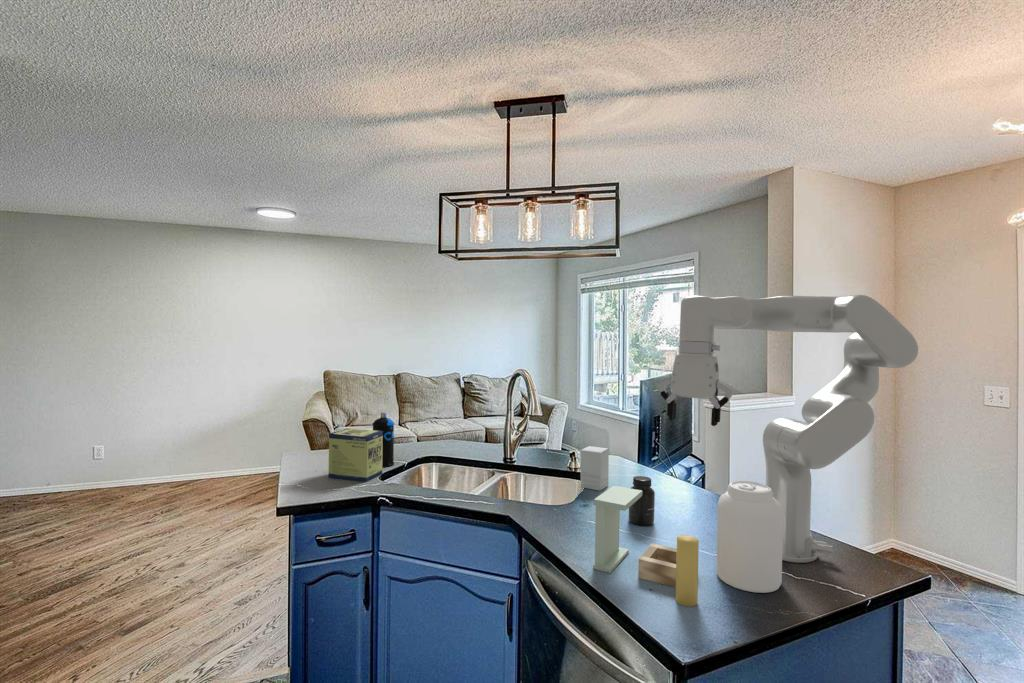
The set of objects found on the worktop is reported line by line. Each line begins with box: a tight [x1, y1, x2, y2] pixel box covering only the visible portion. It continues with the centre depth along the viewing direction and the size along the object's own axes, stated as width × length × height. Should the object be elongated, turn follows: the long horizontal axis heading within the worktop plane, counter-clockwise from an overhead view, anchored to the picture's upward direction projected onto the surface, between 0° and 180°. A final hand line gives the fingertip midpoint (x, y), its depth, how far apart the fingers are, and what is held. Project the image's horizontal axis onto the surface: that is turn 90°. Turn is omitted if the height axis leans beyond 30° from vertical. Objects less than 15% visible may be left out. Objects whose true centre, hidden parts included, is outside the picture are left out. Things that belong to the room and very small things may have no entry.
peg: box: [675, 534, 700, 607], centre depth 100 cm, size 4×4×12 cm
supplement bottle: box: [628, 475, 656, 527], centre depth 141 cm, size 7×7×12 cm
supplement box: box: [580, 445, 610, 492], centre depth 172 cm, size 7×7×13 cm
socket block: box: [637, 542, 677, 589], centre depth 110 cm, size 10×10×4 cm
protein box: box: [328, 428, 383, 483], centre depth 181 cm, size 10×16×16 cm
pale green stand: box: [592, 485, 642, 574], centre depth 116 cm, size 7×12×15 cm, turn 149°
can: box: [716, 480, 783, 594], centre depth 109 cm, size 12×12×20 cm
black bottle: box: [372, 411, 395, 468], centre depth 196 cm, size 8×8×20 cm
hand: (692, 422), depth 121 cm, fingers open, 9 cm apart
